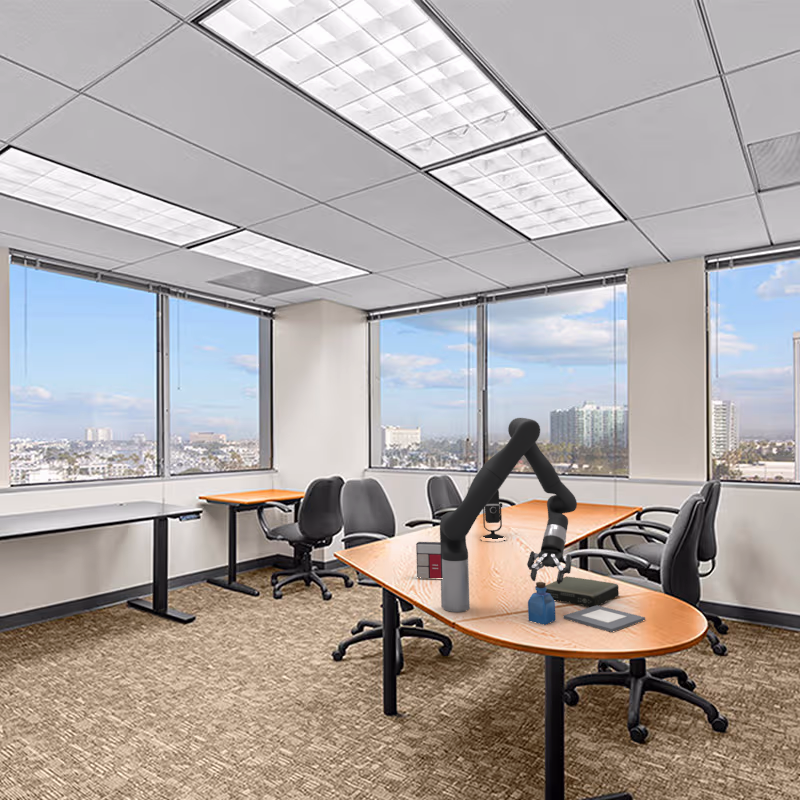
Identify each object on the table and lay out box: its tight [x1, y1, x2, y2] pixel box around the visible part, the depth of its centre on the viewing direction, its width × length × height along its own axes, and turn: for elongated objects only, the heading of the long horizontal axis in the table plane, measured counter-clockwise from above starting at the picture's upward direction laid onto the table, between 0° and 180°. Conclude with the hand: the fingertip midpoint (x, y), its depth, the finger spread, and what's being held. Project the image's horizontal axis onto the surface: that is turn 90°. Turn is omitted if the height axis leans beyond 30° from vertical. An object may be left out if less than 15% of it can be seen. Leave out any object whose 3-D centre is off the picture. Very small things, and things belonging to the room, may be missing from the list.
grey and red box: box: [415, 541, 443, 578], centre depth 253 cm, size 11×4×15 cm, turn 76°
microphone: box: [482, 489, 505, 539], centre depth 343 cm, size 16×16×30 cm
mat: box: [562, 605, 646, 633], centre depth 192 cm, size 18×18×1 cm
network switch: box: [545, 576, 620, 608], centre depth 219 cm, size 23×23×5 cm
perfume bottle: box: [527, 581, 556, 626], centre depth 193 cm, size 6×6×12 cm
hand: (545, 581), depth 198 cm, fingers open, 8 cm apart
